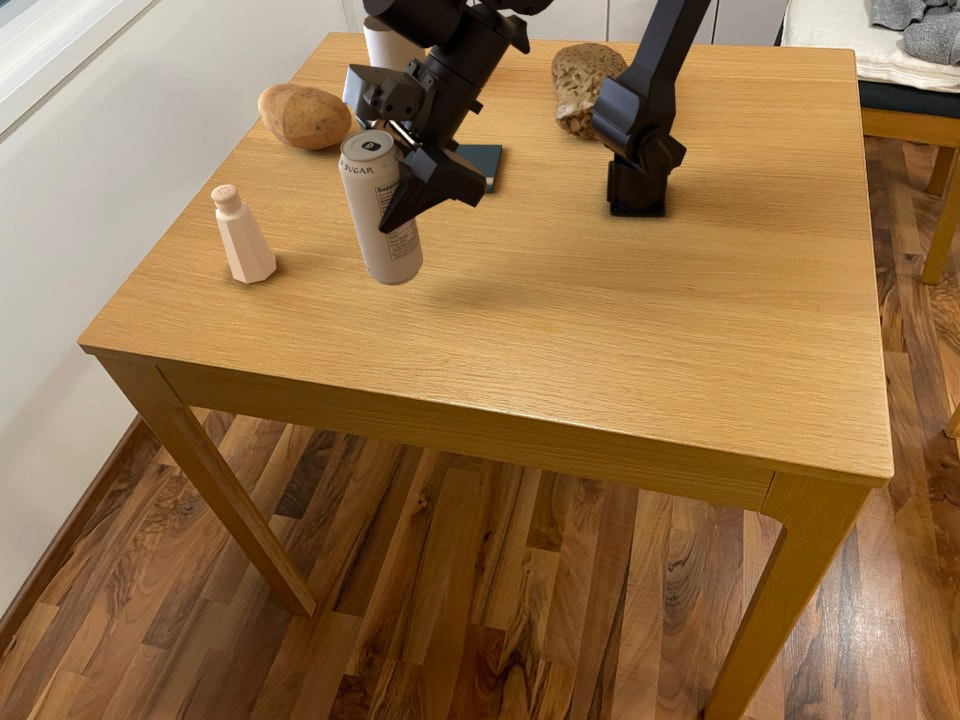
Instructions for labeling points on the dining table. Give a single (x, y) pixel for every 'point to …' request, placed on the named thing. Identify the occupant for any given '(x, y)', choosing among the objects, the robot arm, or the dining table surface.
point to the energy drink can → (378, 206)
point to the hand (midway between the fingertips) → (369, 215)
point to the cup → (389, 47)
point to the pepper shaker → (242, 237)
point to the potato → (304, 116)
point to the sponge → (582, 83)
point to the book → (477, 159)
